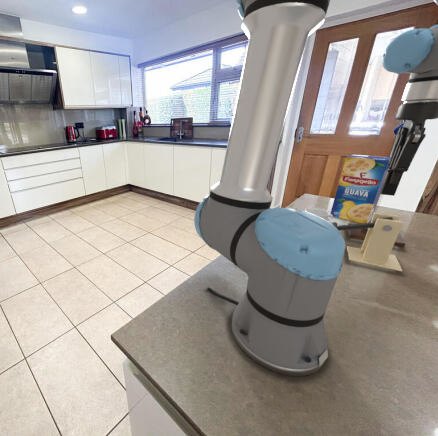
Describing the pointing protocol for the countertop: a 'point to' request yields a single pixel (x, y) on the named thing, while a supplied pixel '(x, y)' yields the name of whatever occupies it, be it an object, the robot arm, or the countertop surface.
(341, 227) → the lever
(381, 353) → the countertop surface
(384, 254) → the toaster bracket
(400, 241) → the control block
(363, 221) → the beverage box
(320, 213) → the teacup
